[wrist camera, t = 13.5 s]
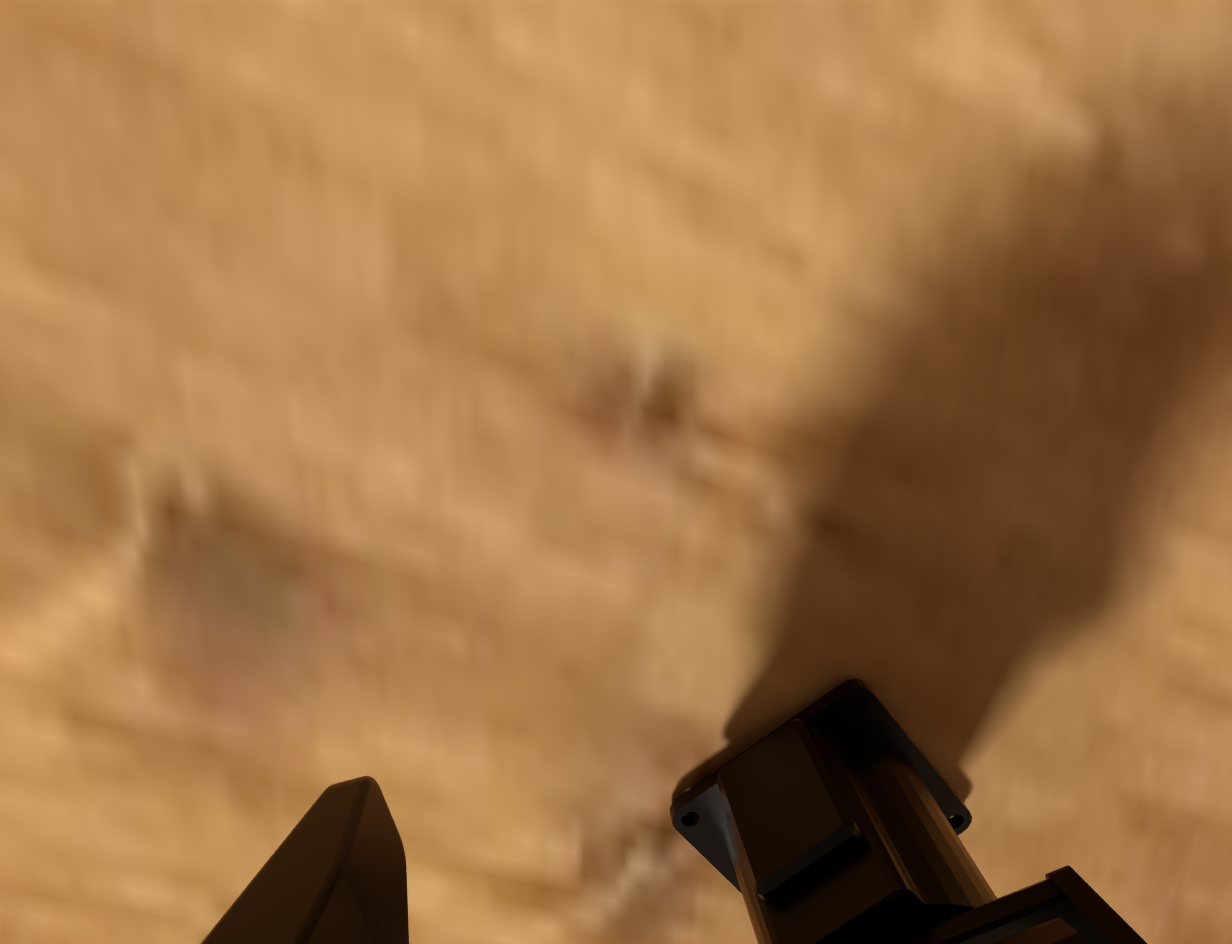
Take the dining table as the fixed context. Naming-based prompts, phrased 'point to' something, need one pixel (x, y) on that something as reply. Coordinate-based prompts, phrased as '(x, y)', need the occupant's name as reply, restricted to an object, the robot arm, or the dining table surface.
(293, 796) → the dining table surface
